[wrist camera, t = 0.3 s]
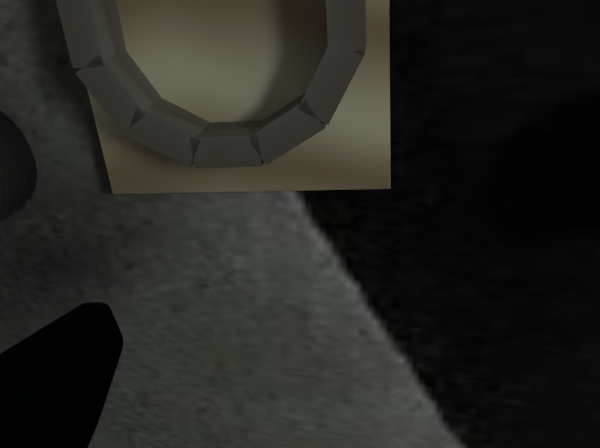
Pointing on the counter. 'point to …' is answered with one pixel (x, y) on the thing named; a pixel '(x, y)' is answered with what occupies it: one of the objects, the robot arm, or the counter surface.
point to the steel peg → (14, 169)
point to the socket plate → (236, 92)
